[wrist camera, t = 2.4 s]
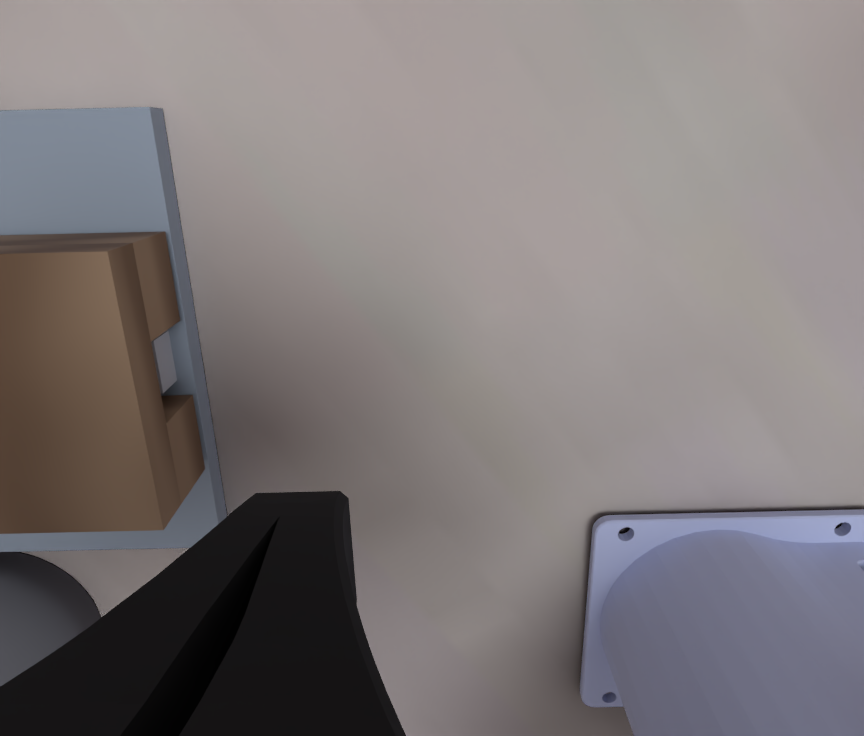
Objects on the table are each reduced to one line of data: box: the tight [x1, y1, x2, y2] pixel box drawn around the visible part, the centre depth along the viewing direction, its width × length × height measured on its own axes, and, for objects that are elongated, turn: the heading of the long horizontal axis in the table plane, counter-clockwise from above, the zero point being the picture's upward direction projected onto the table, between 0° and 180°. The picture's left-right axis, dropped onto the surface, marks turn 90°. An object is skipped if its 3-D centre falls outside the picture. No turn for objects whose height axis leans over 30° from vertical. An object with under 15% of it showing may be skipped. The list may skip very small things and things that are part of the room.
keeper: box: [0, 232, 205, 534], centre depth 16 cm, size 5×7×3 cm
